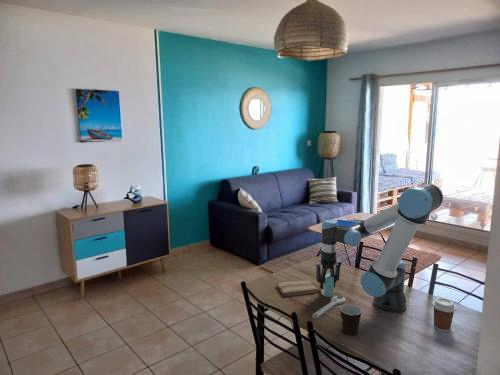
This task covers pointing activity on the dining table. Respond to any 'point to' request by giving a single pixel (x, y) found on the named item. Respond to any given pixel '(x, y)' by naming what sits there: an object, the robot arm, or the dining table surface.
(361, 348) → the dining table surface
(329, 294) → the light blue block
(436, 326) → the coffee cup
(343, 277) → the dining table surface
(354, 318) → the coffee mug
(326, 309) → the adjustable wrench
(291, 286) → the walnut board
